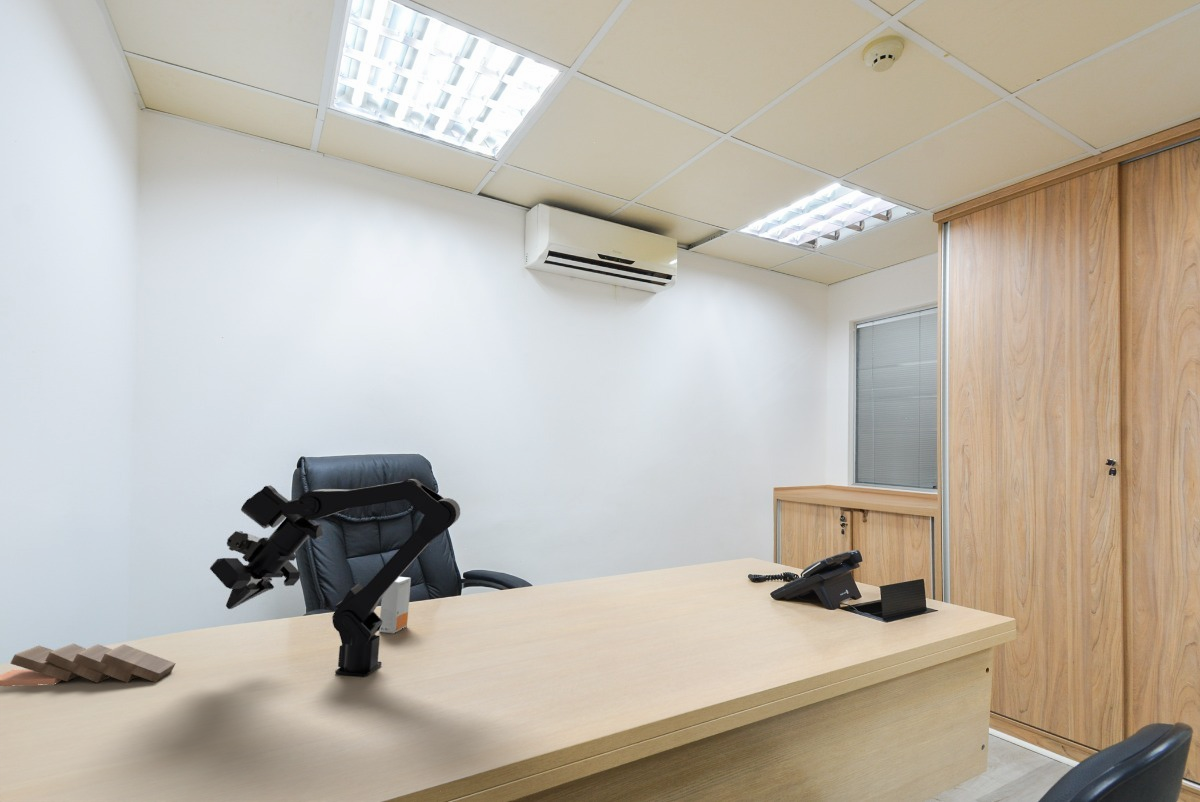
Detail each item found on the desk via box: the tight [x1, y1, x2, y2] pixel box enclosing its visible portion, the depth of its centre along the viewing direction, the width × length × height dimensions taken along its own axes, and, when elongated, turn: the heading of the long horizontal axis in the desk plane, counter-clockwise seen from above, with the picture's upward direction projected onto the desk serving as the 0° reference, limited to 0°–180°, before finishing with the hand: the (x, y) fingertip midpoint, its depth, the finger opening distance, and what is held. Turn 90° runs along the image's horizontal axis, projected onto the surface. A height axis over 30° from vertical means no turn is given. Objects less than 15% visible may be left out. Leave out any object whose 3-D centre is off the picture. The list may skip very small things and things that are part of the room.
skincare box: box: [378, 576, 412, 634], centre depth 138 cm, size 6×4×12 cm
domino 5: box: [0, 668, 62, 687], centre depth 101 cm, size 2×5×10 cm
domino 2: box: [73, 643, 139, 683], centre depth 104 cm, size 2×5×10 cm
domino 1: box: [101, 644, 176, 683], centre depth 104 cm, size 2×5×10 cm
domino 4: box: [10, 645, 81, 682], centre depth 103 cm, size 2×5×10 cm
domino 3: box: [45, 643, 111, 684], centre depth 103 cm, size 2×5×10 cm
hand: (228, 607), depth 110 cm, fingers closed
